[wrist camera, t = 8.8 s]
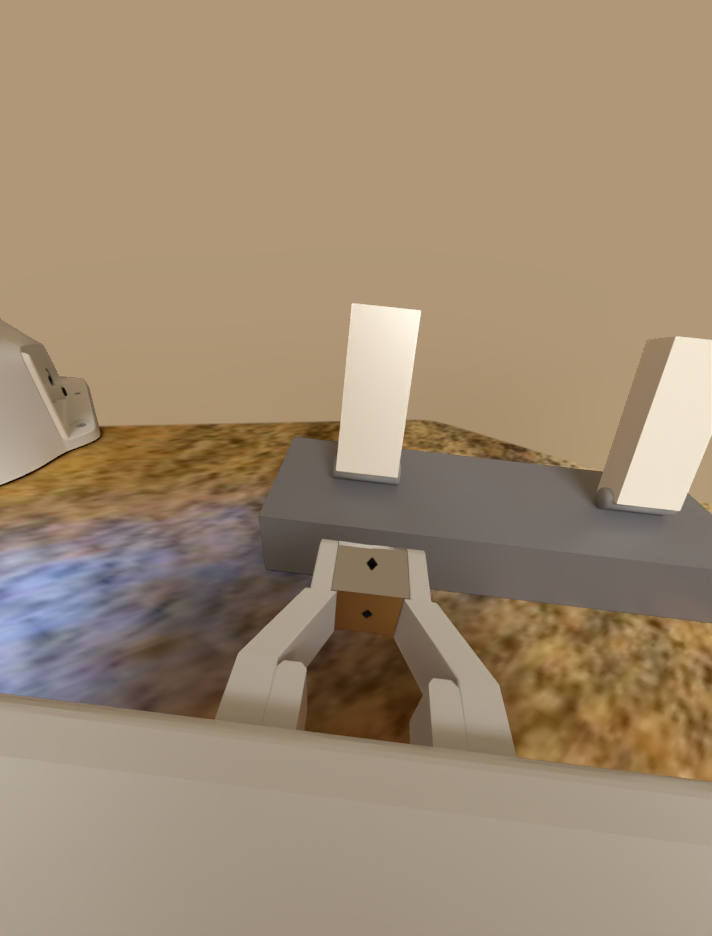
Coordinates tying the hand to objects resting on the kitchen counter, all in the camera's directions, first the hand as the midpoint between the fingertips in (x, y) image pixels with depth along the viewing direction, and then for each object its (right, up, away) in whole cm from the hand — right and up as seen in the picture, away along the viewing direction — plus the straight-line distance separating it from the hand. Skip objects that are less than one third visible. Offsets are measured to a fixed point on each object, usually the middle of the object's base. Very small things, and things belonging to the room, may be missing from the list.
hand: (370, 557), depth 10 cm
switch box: (+9, -3, +16) cm, 18 cm away
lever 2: (+18, 0, +12) cm, 22 cm away
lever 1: (0, +2, +12) cm, 13 cm away
